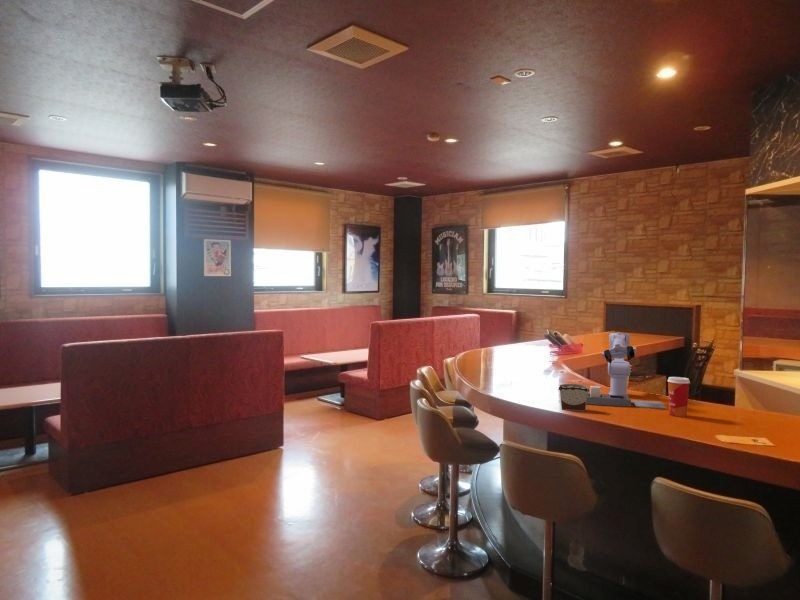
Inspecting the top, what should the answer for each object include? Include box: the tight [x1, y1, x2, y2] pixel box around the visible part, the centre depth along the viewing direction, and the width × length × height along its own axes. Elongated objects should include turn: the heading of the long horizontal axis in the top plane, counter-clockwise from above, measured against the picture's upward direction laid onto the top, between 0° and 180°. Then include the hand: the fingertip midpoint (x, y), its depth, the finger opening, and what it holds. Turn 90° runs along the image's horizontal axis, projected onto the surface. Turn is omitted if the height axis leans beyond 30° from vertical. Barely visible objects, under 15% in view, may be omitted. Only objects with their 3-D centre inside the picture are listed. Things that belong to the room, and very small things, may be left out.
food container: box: [558, 383, 590, 412], centre depth 227 cm, size 12×6×10 cm, turn 74°
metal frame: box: [586, 392, 632, 408], centre depth 239 cm, size 10×20×3 cm, turn 75°
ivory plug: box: [589, 385, 602, 397], centre depth 240 cm, size 4×4×7 cm
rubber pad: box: [631, 399, 668, 410], centre depth 235 cm, size 12×12×1 cm
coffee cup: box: [666, 376, 691, 418], centre depth 216 cm, size 8×8×15 cm
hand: (619, 359), depth 236 cm, fingers open, 7 cm apart
